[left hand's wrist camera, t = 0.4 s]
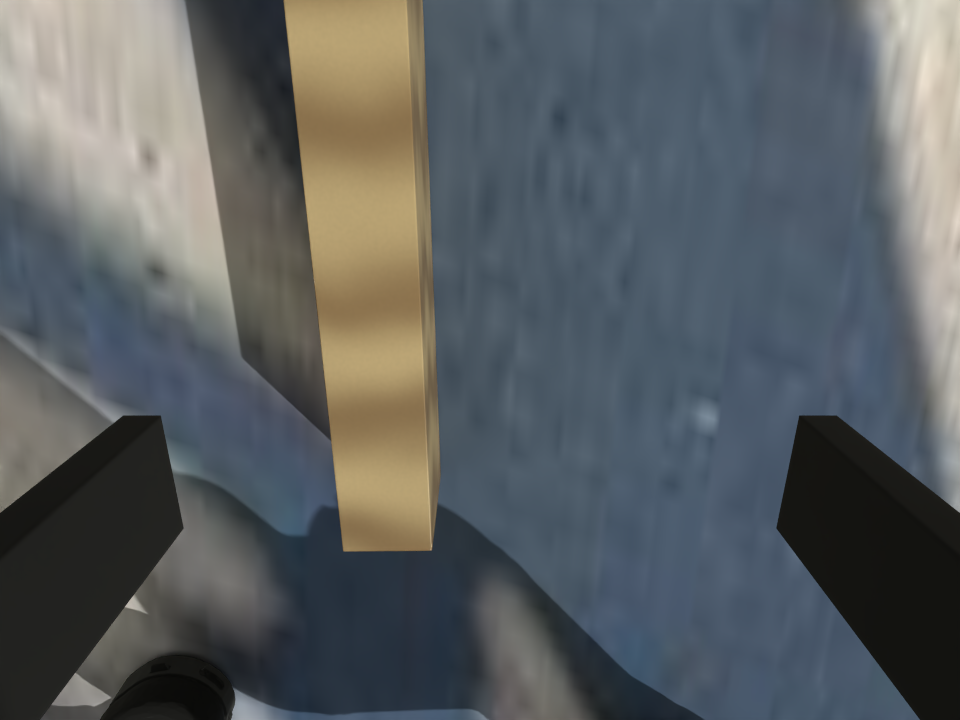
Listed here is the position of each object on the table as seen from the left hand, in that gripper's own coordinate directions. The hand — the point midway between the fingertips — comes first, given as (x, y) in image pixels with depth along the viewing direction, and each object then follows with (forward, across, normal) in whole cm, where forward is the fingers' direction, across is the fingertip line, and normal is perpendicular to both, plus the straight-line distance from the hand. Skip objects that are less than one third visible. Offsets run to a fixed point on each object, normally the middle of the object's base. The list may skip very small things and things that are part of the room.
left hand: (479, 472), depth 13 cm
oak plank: (+25, +5, -7) cm, 26 cm away
